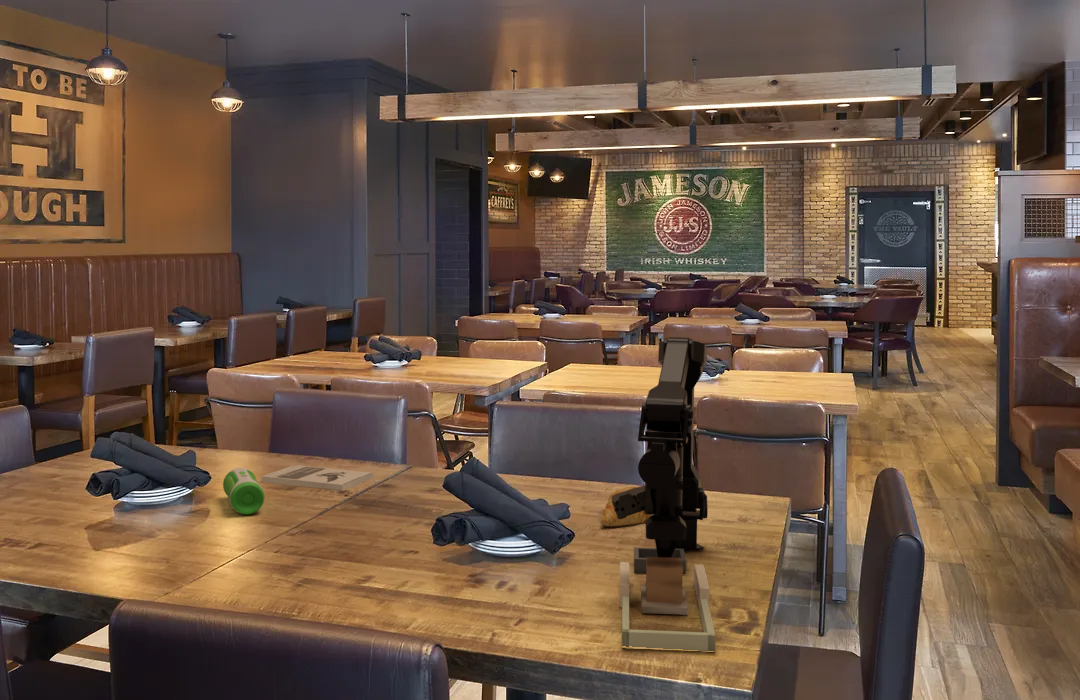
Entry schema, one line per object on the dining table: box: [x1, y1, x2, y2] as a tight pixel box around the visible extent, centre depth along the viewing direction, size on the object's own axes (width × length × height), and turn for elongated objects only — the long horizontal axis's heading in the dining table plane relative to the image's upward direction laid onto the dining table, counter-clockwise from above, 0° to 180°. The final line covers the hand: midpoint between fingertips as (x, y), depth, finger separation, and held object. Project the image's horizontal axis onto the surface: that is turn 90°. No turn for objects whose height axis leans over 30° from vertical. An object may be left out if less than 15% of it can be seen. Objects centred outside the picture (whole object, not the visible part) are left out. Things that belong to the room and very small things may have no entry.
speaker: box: [222, 467, 266, 515], centre depth 213 cm, size 18×7×8 cm, turn 23°
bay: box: [621, 595, 716, 652], centre depth 144 cm, size 14×13×2 cm
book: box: [260, 464, 374, 492], centre depth 239 cm, size 23×14×2 cm, turn 69°
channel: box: [619, 561, 710, 610], centre depth 159 cm, size 12×14×4 cm
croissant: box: [600, 486, 650, 527], centre depth 206 cm, size 21×10×8 cm, turn 145°
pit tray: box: [633, 546, 687, 575], centre depth 173 cm, size 7×9×2 cm
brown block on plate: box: [640, 557, 689, 616], centre depth 155 cm, size 10×7×6 cm
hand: (663, 567), depth 159 cm, fingers closed
